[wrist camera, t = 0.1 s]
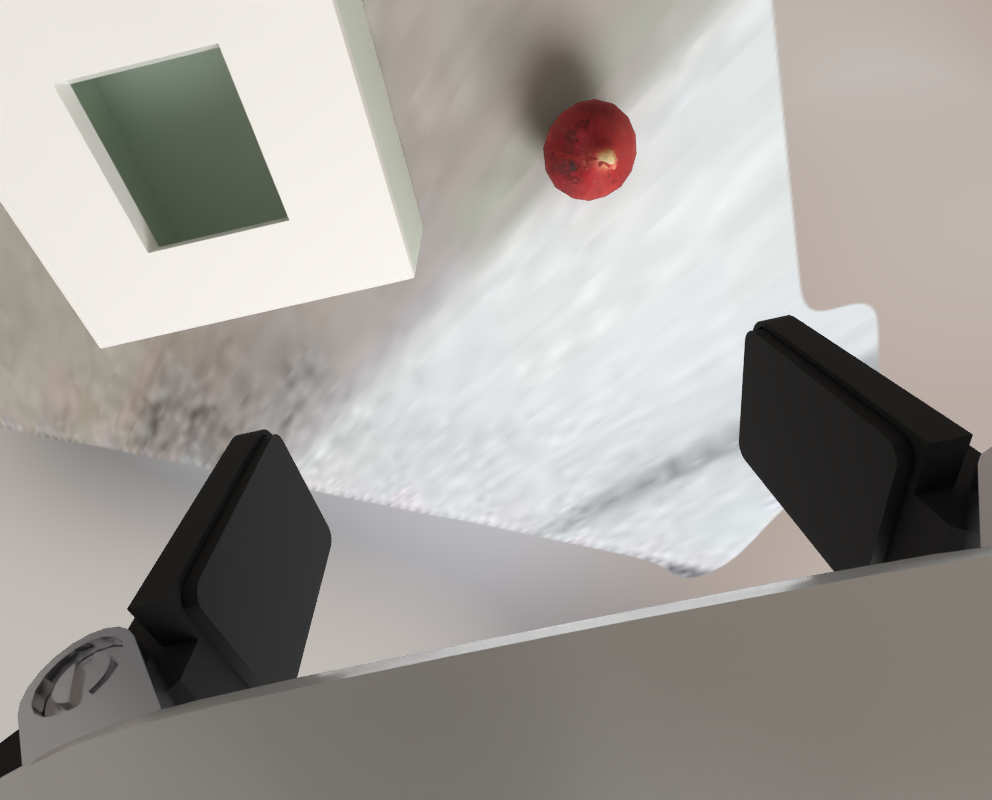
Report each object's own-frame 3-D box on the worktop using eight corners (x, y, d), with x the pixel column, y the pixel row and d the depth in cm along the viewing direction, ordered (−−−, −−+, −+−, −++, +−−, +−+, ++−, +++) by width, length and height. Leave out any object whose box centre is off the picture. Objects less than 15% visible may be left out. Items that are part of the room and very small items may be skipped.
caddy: (55, 23, 30) (-144, -10, 20) (348, -50, 30) (296, -123, 20) (192, 280, 39) (100, 348, 29) (423, 227, 38) (414, 277, 28)
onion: (542, 197, 38) (562, 221, 31) (530, 109, 35) (550, 114, 28) (620, 180, 38) (658, 201, 31) (615, 90, 35) (655, 90, 28)
